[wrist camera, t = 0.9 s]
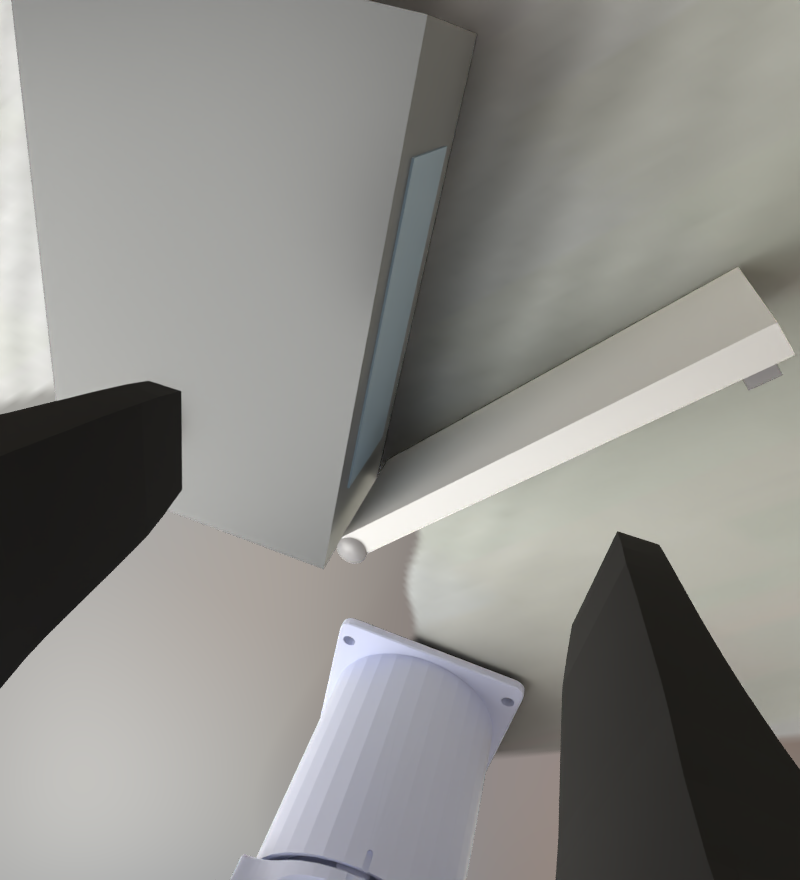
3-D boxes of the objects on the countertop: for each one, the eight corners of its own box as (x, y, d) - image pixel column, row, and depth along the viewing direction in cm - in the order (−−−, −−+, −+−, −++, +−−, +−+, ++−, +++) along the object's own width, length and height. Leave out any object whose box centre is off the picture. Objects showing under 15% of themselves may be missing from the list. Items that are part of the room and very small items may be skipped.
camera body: (377, 481, 23) (317, 583, 18) (158, 405, 24) (49, 482, 19) (501, -62, 14) (448, -134, 10) (153, -136, 16) (-42, -232, 11)
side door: (401, 494, 22) (359, 577, 19) (378, 464, 22) (330, 543, 18) (762, 311, 16) (809, 379, 12) (737, 266, 16) (778, 322, 12)
